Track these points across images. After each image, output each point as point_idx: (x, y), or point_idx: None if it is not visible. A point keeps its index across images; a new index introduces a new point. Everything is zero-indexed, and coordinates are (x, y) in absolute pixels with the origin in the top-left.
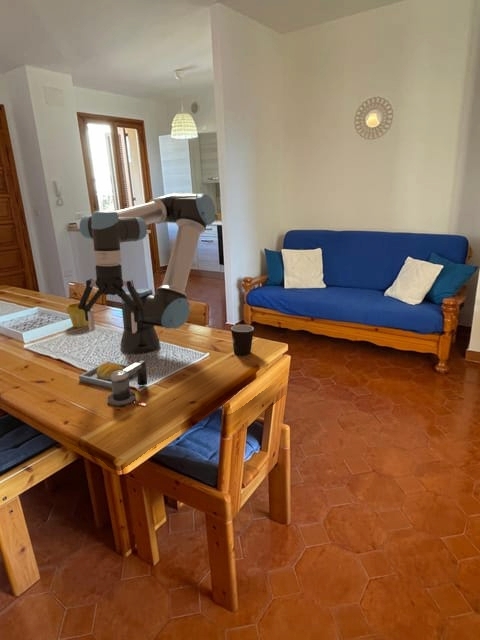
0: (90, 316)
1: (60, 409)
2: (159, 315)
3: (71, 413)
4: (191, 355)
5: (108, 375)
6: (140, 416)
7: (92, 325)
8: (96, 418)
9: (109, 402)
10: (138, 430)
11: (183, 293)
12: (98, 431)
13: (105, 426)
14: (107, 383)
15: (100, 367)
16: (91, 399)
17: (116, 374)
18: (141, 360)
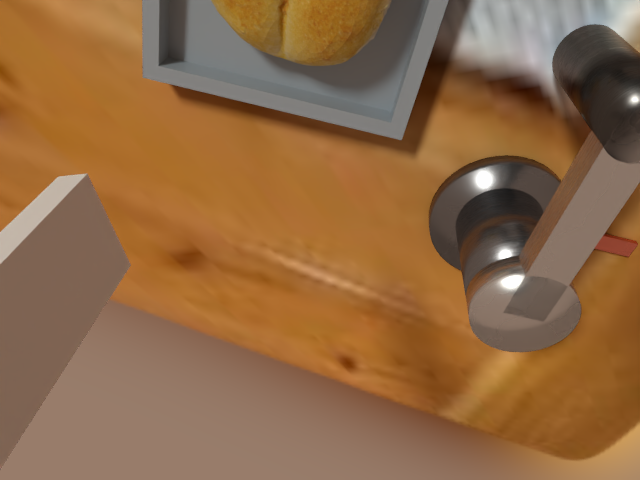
0: (18, 432)
1: (270, 304)
2: None
3: (329, 321)
4: None
5: (336, 63)
6: (619, 316)
7: (82, 283)
8: (441, 339)
9: (453, 263)
10: (624, 381)
11: None
12: (482, 392)
13: (495, 372)
14: (368, 129)
15: (233, 1)
16: (346, 228)
17: (506, 325)
18: None
